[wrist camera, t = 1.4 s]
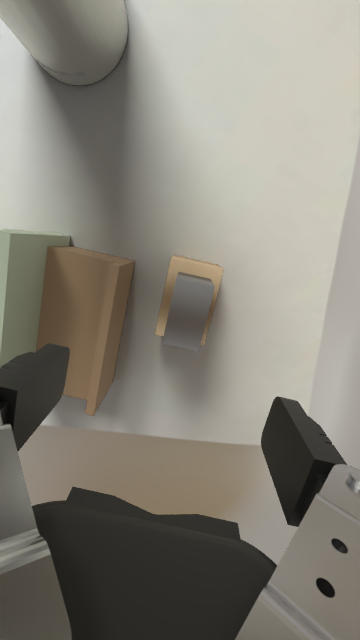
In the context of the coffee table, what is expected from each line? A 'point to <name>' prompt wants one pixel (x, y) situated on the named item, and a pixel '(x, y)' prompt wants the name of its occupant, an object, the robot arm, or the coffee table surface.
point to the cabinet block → (188, 302)
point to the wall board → (63, 306)
